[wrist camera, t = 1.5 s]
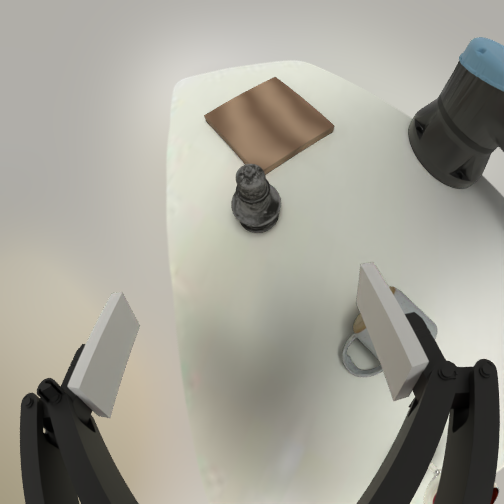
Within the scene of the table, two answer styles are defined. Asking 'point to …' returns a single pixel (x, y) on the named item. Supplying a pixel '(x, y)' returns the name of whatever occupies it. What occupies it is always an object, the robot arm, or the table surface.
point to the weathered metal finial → (255, 200)
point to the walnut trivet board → (268, 124)
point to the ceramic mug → (364, 337)
